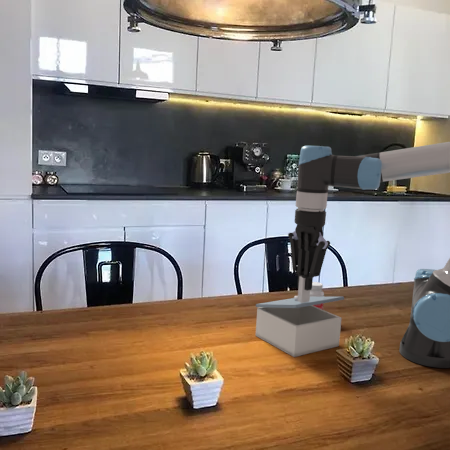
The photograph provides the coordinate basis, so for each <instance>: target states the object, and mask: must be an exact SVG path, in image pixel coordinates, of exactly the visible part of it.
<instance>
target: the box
mask: <svg viewBox="0 0 450 450" xmlns="http://www.w3.org/2000/svg"><path fill="white" fill-rule="evenodd" d="M256 308H257V309H256V322H255V323H256V324H255V337H257V338H259V339H261V340H263V341H264V342H266V343H268V344H269V345H272V346H273V347H275V348H277V349H279V350H280V351H282V352H284V353H285V354H287V355H290V356H291V357H293V358H297V357H300V356H301V357H302V356H305V355H307V354H312V353H316V352H321V351H324V350H328V349H333V348H336V347H339V345H340V339H341V329H342V327H341V326H342V316H341V317H340V316H339V315H336V314H334V313H332V312H329V311H327V310H325V309H323V310H322V309H320V308H318V307H315V306H313V305H311V306H305V307H300V308H270V307H256Z"/></svg>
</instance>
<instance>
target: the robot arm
mask: <svg viewBox="0 0 450 450" xmlns="http://www.w3.org/2000/svg"><path fill="white" fill-rule="evenodd" d="M299 154H300V155H299V159H298V164H297V165H298V170H297V188H296V197H295V207H296V209H294V210H295V211H294V223H295V224H296V227H295V228H294V229H295V230H294V231H293V232H288V233H287V236H288V240H289V242H290V253H291V254H290V255H291V266H292V268H291V269H292V271H293V272H295V273H296V274H297V289H298V290H297V296H298V302H301V303H303V302H309V300H310V290H311V289H312V282H314V281H313V280H314V277H315V278H316V277H320V275H321V271H322V268H323V265H324V260H325V257H326V252H327V250H328V248H329V247H330V245H331V242H330V240H326V238H325V237H324V232H323V227H325V225H326V218H327V212H326V209H327V206H328V195H329V193H328V192H329V187H333V188H335V187H338V188H349V189H359V190H362V191H363V190H377V189H379V187H380V186H381V183H383V182H389V181H391V182H392V181H396V180H397V181H398V180H404V179H405V180H406V179H413V178H420V177H428V176H434V175H443V174H448V173H449V174H450V141H446V142H445V141H444V142H439V143H433V144H427V145H419V146H414V147H413V146H412V147H406V148H402V149H394V150H388V151H381V152H376V153H368V154H359V155H355V156H353V155H352V156H351V155H335V154H333V152H332V148H331V147H330V146H323V145H321V146H320V145H304V146H301V149H300V153H299ZM413 282H414V283H413V284H414V285H413V291H412V299H411V301H412V302H411V309H410V316H409V325H408V326H407V329H406V331H405V332H404V334H403V336H402V338H401V340H400V343H399V349H398V350H399V351H398V352H399V354H400V355H401V356H402V357H403V358H405V359H406V360H407V361H411V362H413V363H414V364H415V363H416V364H418V365H422V366H424V367H425V366H426V367H430V368H437V369H450V258H448V260H447V262H446V263H445V265H444V267H442V268H440V269H432V268H420V269H418V270H417V271H416V272H415V277H414V278H413Z"/></svg>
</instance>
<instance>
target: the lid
mask: <svg viewBox="0 0 450 450" xmlns="http://www.w3.org/2000/svg"><path fill="white" fill-rule="evenodd" d="M343 300H345V297H344V296H324V297H310V300H309V302H303V303H301V302H298V295H294V297H292V298H287V299H285V298H284V299H280V300H278V299H277V300H273V301H268V302H261V303H256V304H255V308H260V307H270V308H300V307H305V306H311V305H317V304H322V303H324V304H326V303H333V302H339V301H343Z"/></svg>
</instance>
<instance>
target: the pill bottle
mask: <svg viewBox="0 0 450 450" xmlns="http://www.w3.org/2000/svg"><path fill="white" fill-rule="evenodd" d="M323 286H324V285H323V283H321V282H319V281H312V289H311V290H310V297H325V292H324V291H323V288H324V287H323ZM324 304H325V303H322V304H317V305H313V306H315V307H318V308H320V309H322V310H324Z"/></svg>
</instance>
